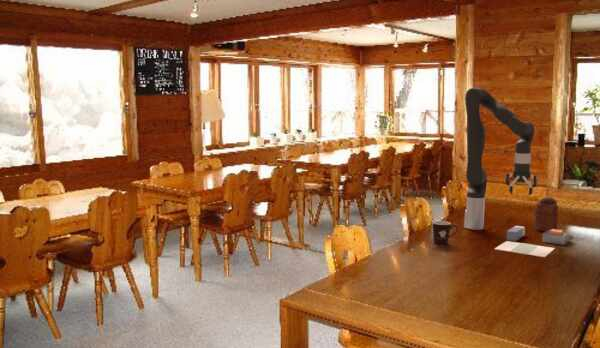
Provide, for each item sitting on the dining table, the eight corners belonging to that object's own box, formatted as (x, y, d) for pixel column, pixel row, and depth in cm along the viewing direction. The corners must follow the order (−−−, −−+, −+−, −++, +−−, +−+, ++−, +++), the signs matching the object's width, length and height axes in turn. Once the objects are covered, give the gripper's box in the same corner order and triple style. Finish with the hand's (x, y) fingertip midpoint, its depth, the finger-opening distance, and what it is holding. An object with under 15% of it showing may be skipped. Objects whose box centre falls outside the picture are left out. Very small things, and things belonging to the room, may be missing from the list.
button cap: (549, 236, 268) (549, 230, 267) (551, 234, 271) (552, 228, 271) (560, 238, 264) (560, 232, 264) (562, 236, 268) (563, 230, 268)
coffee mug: (429, 244, 264) (430, 223, 262) (434, 240, 271) (434, 220, 270) (454, 246, 258) (454, 226, 257) (458, 242, 266) (458, 222, 265)
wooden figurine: (559, 230, 291) (561, 197, 288) (556, 233, 286) (558, 199, 283) (535, 227, 298) (537, 195, 295) (532, 229, 293) (534, 196, 290)
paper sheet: (494, 249, 254) (494, 248, 254) (506, 241, 268) (506, 240, 268) (544, 257, 241) (544, 256, 241) (554, 248, 255) (554, 247, 255)
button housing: (542, 241, 267) (542, 233, 267) (547, 237, 275) (547, 230, 275) (564, 245, 261) (564, 236, 261) (569, 240, 269) (569, 232, 269)
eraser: (506, 239, 272) (506, 231, 271) (515, 234, 283) (515, 225, 283) (515, 241, 269) (516, 232, 268) (524, 235, 281) (524, 226, 280)
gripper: (538, 162, 271) (536, 194, 273) (508, 160, 278) (506, 192, 280) (536, 163, 265) (535, 196, 267) (505, 162, 272) (504, 194, 274)
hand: (520, 194), depth 274 cm, fingers open, 8 cm apart
